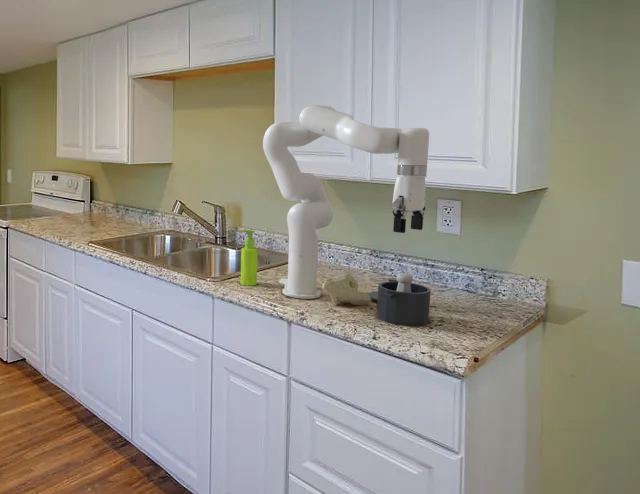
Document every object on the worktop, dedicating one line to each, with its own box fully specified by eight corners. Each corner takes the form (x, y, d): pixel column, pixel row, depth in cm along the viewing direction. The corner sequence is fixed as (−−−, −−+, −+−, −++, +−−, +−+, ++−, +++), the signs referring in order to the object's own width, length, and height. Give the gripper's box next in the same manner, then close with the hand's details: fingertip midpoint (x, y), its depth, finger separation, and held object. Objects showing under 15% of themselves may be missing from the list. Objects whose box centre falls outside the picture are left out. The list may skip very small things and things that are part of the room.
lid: (359, 299, 183) (360, 277, 182) (382, 292, 192) (384, 271, 191) (402, 309, 171) (404, 287, 170) (425, 301, 180) (427, 280, 179)
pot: (362, 318, 163) (364, 287, 161) (396, 307, 174) (398, 278, 172) (408, 331, 152) (410, 297, 150) (441, 318, 163) (443, 287, 161)
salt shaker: (415, 316, 163) (418, 273, 161) (410, 321, 158) (413, 277, 157) (394, 312, 167) (397, 270, 165) (388, 317, 162) (391, 274, 161)
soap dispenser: (238, 280, 207) (240, 228, 205) (257, 282, 205) (259, 229, 202) (236, 284, 202) (238, 230, 199) (255, 286, 199) (257, 231, 197)
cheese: (361, 304, 183) (325, 273, 187) (376, 292, 179) (339, 261, 182) (347, 329, 173) (309, 296, 176) (363, 317, 168) (323, 283, 171)
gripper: (413, 170, 165) (410, 226, 167) (382, 172, 155) (379, 231, 157) (439, 171, 159) (435, 229, 161) (409, 173, 149) (405, 235, 151)
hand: (407, 230), depth 159 cm, fingers open, 9 cm apart
